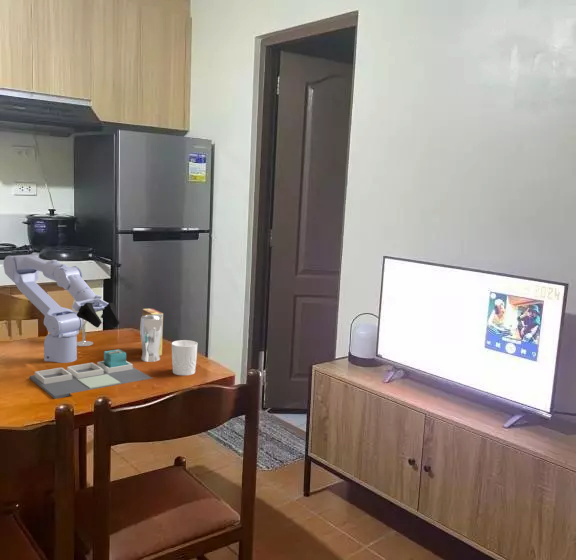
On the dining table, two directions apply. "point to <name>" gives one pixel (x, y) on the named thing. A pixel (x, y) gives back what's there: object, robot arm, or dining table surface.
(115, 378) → the organizer board
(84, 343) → the wineglass
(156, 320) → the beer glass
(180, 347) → the white cup
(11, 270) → the robot arm
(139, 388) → the dining table surface
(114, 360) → the teal letter cube
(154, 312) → the candy box
